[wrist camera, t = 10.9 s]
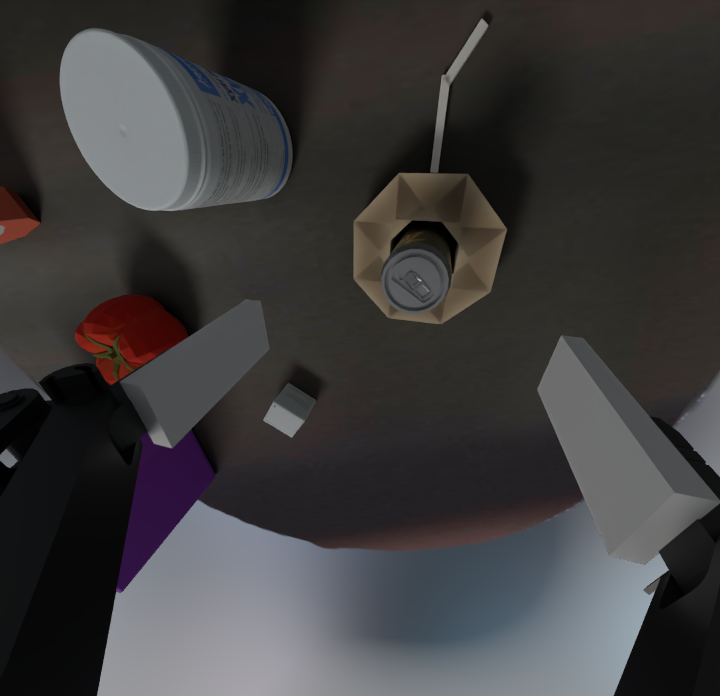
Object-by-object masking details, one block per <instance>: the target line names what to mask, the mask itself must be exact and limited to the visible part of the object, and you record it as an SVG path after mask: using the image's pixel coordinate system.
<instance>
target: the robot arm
mask: <svg viewBox="0 0 720 696" xmlns="http://www.w3.org/2000/svg"><path fill="white" fill-rule="evenodd" d="M268 350H269V343H268V338H267V333H266V327H265V322H264V317H263V311H262V306H261V301H256V300H248V299H246V300H245V301H243V302H242V303H240V304H239V305H237V306H236V307H234V308H232V309H231V310H229V311H228V312H226V313H225V314H223V315H222V316H220V317H219V318H217V319H216V320H214V321H212V322H211V323H209V324H208V325H206V326H205V327H203V328H202V329H200V330H199V331H197V332H196V333H194V334H192V335H191V336H189V337H188V338H186V339H185V340H183V341H182V342H180V343H179V344H177V345H175V346H174V347H171V348H169V349H167V350H165V351H163V352H162V353H160V354H159V355H157V356H156V357H155V359H154V358H152V359H151V360H149V361H148V362H146V364H145V365H144V364H143V365H142V366H140V367H138V368H137V369H135V370H134V371H132V372H131V373H129V374H128V375H126V376H124V377H123V378H121V379H120V380H118V381H117V382H115V383H114V384H112V385H110V386H108V384H107V382H106V381H105V379H104V377H103V376H102V374H101V372H100V370H99V369H98V367H97V366H96V365H94V364H87V363H85V364H77V365H72V366H69V367H65V368H62V369H60V370H57V371H55V372H53V373H51V374H49V375H48V376H46V377H44V378H43V379H42V380H41V381H40V382H39V383H40V385H41V386H42V387H43V389H44V390H45V391H46V393H47V394H48V395H49V397H50V398H51V399H52V400H51V401H45V400H44V399H43V398H42V396H41V395H40V393H39V392H38V391H37V390H35V389H20V390H13V391H9V392H7V393H3V394H0V454H1V453H2V452H3V451H4V450H5V449H7V450H8V451H9V452H10V453H11V454H12V455H13V456H14V457H15V458H16V459H17V460H18V462H16V464H15V465H14V466H12V467H11V468H8V467H6V466H5V465H4V464H3V463H2V462H1V461H0V696H97V692H98V687H99V682H100V676H101V671H102V665H103V659H104V654H105V649H106V644H107V638H108V633H109V627H110V622H111V616H112V611H113V606H114V600H115V594H116V589H117V584H118V578H119V573H120V567H121V562H122V557H123V551H124V546H125V540H126V535H127V529H128V524H129V519H130V513H131V508H132V502H133V497H134V491H135V486H136V481H137V475H138V470H139V464H140V459H141V453H142V448H143V446H142V442H141V440H140V438H141V437H142V436H143V435H144V434H145V433H147V432H148V434H149V436H150V438H151V439H152V441H153V443H154V444H157V445H161V446H165V447H169V448H173V447H174V446H175V445H176V444H177V443H178V442H179V441H180V440H181V439H182V438H183V437H184V436H185V435H186V434H187V433H188V432H189V431H190V430H191V429H192V428H193V427H194V426H195V425H196V424H197V423H198V422H199V421H200V420H201V419H202V418H203V417H204V416H205V415H206V413H207V412H208V411H209V410H210V409H211V408H212V407H213V406H214V405H215V404H216V403H217V402H218V401H219V400H220V399H221V398H222V397H223V396H224V395H225V394H226V393H227V392H228V391H229V390H230V389H231V388H232V387H233V386H234V385H235V384H236V383H237V382H238V381H239V380H240V379H241V378H242V377H243V376H244V375H245V374H246V373H247V372H248V371H249V370H250V369H251V368H252V366H253V365H254V364H255V363H256V362H257V361H258V360H259V359H260V358H261V357H262V356H263V355H264V354H265V353H266V352H267V351H268ZM537 390H538V392H539V395H540V397H541V399H542V402H543V404H544V406H545V409H546V411H547V413H548V416H549V418H550V420H551V423H552V425H553V427H554V429H555V432H556V434H557V436H558V439H559V441H560V443H561V446H562V448H563V450H564V453H565V455H566V457H567V459H568V462H569V464H570V466H571V469H572V471H573V473H574V476H575V478H576V480H577V483H578V485H579V487H580V489H581V492H582V494H583V496H584V499H585V501H586V503H587V505H588V508H589V510H590V512H591V515H592V517H593V519H594V522H595V524H596V526H597V529H598V531H599V533H600V536H601V538H602V540H603V542H604V545H605V547H606V550H607V552H608V554H609V556H612V557H615V558H619V559H623V560H627V561H632V562H636V563H640V564H644V565H645V564H646V563H648V562H649V561H650V560H651V559H652V558H654V557H655V556H656V555H657V554H658V553H660V555H661V556H662V558H663V560H664V562H665V563H666V565H667V567H668V569H669V571H667V572H666V573H665V574H663V575H662V576H660V577H659V578H658V579H656V580H655V581H654V582H652V583H651V584H650V585H648V586H647V587H646V588H645V589H644V591H645V592H646V593H648V594H649V595H650V594H651V593H652V592H654V591H655V590H656V591H655V594H654V596H653V598H652V601H651V603H650V606H649V608H648V611H647V613H646V616H645V618H644V621H643V624H642V626H641V629H640V631H639V634H638V636H637V639H636V641H635V644H634V646H633V649H632V651H631V654H630V656H629V659H628V661H627V664H626V666H625V669H624V671H623V674H622V677H621V679H620V681H619V684H618V687H617V689H616V692H615V694H614V696H720V477H719V476H718V475H717V474H716V473H715V472H714V470H713V469H712V468H711V467H710V466H709V465H706V464H705V462H706V461H705V460H704V459H703V458H702V457H701V456H700V455H699V454H698V453H697V452H696V451H693V447H692V446H691V445H690V444H689V443H688V442H687V441H686V439H684V437H683V436H682V435H681V434H680V433H679V432H678V431H676V430H675V429H674V428H672V427H671V426H669V425H668V424H667V423H665V422H664V421H662V420H661V419H660V418H655V417H649V416H648V414H647V413H646V412H645V411H644V410H643V409H642V407H641V406H640V405H639V404H638V403H637V401H636V400H635V399H634V398H633V397H632V395H631V394H630V393H629V392H628V391H627V390H626V388H625V387H624V386H623V385H622V384H621V382H620V381H619V380H618V379H617V378H616V377H615V375H614V374H613V373H612V372H611V371H610V369H609V368H608V367H607V366H606V365H605V363H604V362H603V361H602V360H601V359H600V358H599V356H598V355H597V354H596V353H595V352H594V350H593V349H592V348H591V347H590V346H589V344H588V343H587V342H586V341H585V340H584V339H583V338H579V337H570V336H561V337H560V339H559V341H558V344H557V346H556V348H555V350H554V353H553V355H552V357H551V360H550V362H549V364H548V366H547V369H546V371H545V373H544V375H543V378H542V380H541V382H540V384H539V387H538V389H537Z"/></svg>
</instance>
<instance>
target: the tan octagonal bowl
mask: <svg viewBox="0 0 720 696" xmlns="http://www.w3.org/2000/svg"><path fill="white" fill-rule="evenodd" d="M412 220H417V221H438V222H442V223H443V224H444V225H445V227H446V228H447V229H448V231H449V232H450V233H451V235H452V236H453V237H454V238H455V240H456V241H457V246H456V251H455V257H454V262H453V265H451V268H452V279H451V286H450V288H449V291H448V293H447V295H446V296H445V297H444V299H443V300H442V301H441V302H440V303H439V304H438V305H437V306H436V307H435V308H433V309H431V310H430V311H428V312H424V313H420V314H407V313H404V312H402V311H399V310H397V309H396V308H395V307H393V306H392V305H390V303H389V302H388V300H387V299H386V298H385V296H384V293H383V290H382V285H381V272H382V268H383V265H384V262H385V261H386V260H387V258H388V257H389V255H390V254H391V253H392V251H393V250H394V248H395V237H396V235H397V234H398V233H399V232H400V231H401V230H402V229H403V228H404V227H405V226H407V225H408V224H409V223H410V222H411V221H412ZM506 231H507V228H506V227H505V226H504V224H503V223H502V221H501V220H500V219H499V217H498V216H497V214H496V213H495V211H494V210H493V209H492V207H491V206H490V204H489V203H488V201H487V200H486V199H485V197H484V196H483V194H482V193H481V192H480V190H479V189H478V187H477V186H476V184H475V183H474V182H473V180H472V179H471V177H470V176H469V174H438V173H399V174H398V175H397V176H396V177H395V178H394V179H393V180H392V181H391V182H390V183H389V184H388V185H387V186H386V187H385V189H384V190H383V191H382V192H381V193H380V194H379V195H378V196H377V197H376V198H375V199H374V200H373V201H372V202H371V204H370V205H369V206H368V207H367V208H366V209H365V210H364V211H363V212H362V213H361V214H360V215H359V216H358V218H357V219H356V220H355V221H354V280H355V281H356V282H357V283H358V284H359V286H360V287H361V288H362V289H363V290H364V291H365V292H366V293H367V295H368V296H369V297H370V298H371V299H372V300H373V301H374V302H375V303H376V305H377V306H378V307H379V308H380V309H381V310H382V311H383V312H384V313H385V315H386V316H387V317H388V318H393V319H402V320H410V321H418V322H427V323H435V324H442V323H444V322H445V321H447V320H448V319H450V318H451V317H453V316H454V315H456V314H457V313H459V312H461V311H462V310H464V309H465V308H467V307H468V306H470V305H471V304H473V303H474V302H476V301H477V300H479V299H481V298H482V297H484V296H485V295H487V294H488V293H490V292H491V288H492V284H493V280H494V276H495V273H496V269H497V265H498V261H499V257H500V254H501V250H502V246H503V242H504V239H505V235H506Z"/></svg>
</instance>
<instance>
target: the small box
mask: <svg viewBox="0 0 720 696" xmlns="http://www.w3.org/2000/svg"><path fill="white" fill-rule="evenodd" d="M315 403H316V400H315V399H314V398H312V397H310V396H309V395H307V394H306V393H304V392H302V391H301V390H299V389H298V388H296V387H295V386H293V385H291V384H290V383H288V384H287V385H286V386H285V387H284V389H283V390H282V391H281V392H280V394H279V395H278V396H277V398H276V399H275V400H274V402H273V403H272V405H271V407H270V409H269V411H268V412H267V414H266V416H265V418H264V421H265V422H267V423H269V424H270V425H272V426H274V427H275V428H277V429H278V430H280V431H282V432H283V433H285V434H287V435H288V436H290V437H291V438H292V437H293V435H294V434H295V433H296V432H297V430H298V429H299V428H300V427H301V426H302V424H303V423H304V422H305V420H306V418H307V417H308V415H309V413H310V411H311V410H312V408H313V406H314V405H315Z"/></svg>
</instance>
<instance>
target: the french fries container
mask: <svg viewBox="0 0 720 696" xmlns="http://www.w3.org/2000/svg"><path fill="white" fill-rule="evenodd" d="M39 224H40V222H39V220H38V219H37V218H36V217H35V215H34V214H33V213H32V212H31V210H30V209H29V208H28V207H27V205H26V204H25V203H24V201H23V200H22V199H21V198H20V196H19V195H18V194H16V193H15V192H13V191H11V190H9V189H7V188H5V187H0V244H2V243H5V242H8V241H11V240H14V239H17V238H20V237H23V236H25V235H27V234H28V233H29V232H30V231H32V230H33V229H34V228H35V227H36V226H38V225H39Z"/></svg>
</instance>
